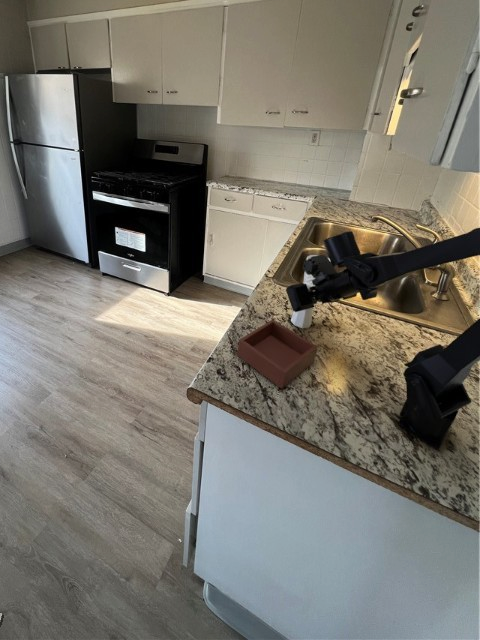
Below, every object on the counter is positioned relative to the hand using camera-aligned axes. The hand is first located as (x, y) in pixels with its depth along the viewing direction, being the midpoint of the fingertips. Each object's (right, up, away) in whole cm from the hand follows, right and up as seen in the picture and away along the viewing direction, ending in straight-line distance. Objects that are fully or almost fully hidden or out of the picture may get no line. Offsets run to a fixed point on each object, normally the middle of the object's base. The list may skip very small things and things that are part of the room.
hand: (301, 299), depth 84 cm
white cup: (+10, +1, +19) cm, 22 cm away
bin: (-10, -12, -11) cm, 19 cm away
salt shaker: (0, -7, +2) cm, 7 cm away
